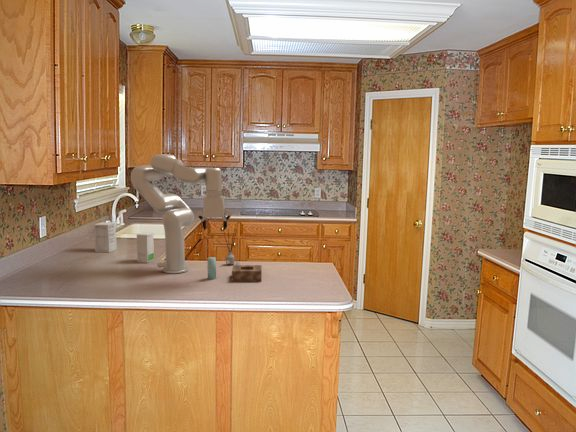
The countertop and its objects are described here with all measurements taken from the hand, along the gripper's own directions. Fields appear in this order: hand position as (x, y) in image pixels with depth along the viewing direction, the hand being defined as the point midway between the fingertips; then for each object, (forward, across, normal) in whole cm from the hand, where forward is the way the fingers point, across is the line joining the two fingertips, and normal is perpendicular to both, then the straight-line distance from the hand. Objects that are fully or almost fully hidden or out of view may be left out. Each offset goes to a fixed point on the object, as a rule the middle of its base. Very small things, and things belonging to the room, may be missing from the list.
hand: (214, 229), depth 246 cm
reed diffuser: (+24, +3, +27) cm, 36 cm away
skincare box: (+23, -46, +29) cm, 59 cm away
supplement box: (+22, -79, +53) cm, 98 cm away
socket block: (+24, +15, -1) cm, 28 cm away
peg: (+24, -2, -3) cm, 24 cm away
